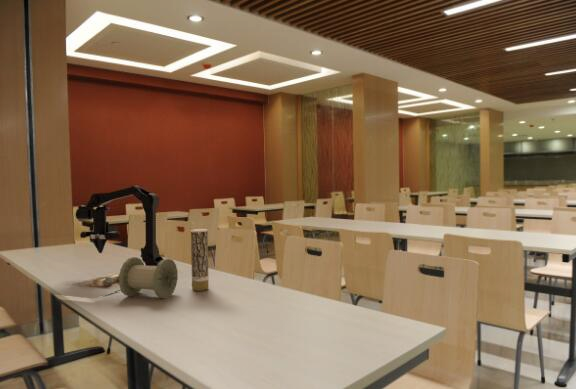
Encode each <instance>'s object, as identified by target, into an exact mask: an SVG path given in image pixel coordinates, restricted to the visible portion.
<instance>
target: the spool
mask: <svg viewBox="0 0 576 389" xmlns="http://www.w3.org/2000/svg"><path fill="white" fill-rule="evenodd" d="M163 259H164V260H161V261H160V263H159V264H158V265H157V266H146V265H145V263H144V261H143V260H142V258H139V257H137V256H136V257H135V256H134V257H129V258H127V259H126V260H125V261H124V262H123V264H122V266H121V268H120V270H119V273H120V274H119V273H118V275H119V285H118V286H119V288H120V291H121V293H123V295H124V296H128V297H133V296H136V295H138V294H139V293H140V292H141V291H142V290H152V291H154V293H155V295H156V296H157V298H159V299H165V300H166V299H168V298H170V297H172V295H173V294H174V291H175V290H176V287H177V283H178V279H179V278H178V268H177V264H176V262H175V261H174V260H173V259H170V258H163Z"/></svg>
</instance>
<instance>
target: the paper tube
mask: <svg viewBox="0 0 576 389" xmlns="http://www.w3.org/2000/svg"><path fill="white" fill-rule="evenodd" d="M208 237H209V235H208V229H206V228H195V229H191V230H190V247H191V248H190V250H191V251H190V254H191V255H190V256H191V288H192V290H193V291H195V292H203V291H206V290H208V289H209V287H210V286H209V245H208V244H209V242H208V241H209V239H208Z"/></svg>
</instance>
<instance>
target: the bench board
mask: <svg viewBox="0 0 576 389" xmlns="http://www.w3.org/2000/svg"><path fill="white" fill-rule="evenodd" d="M119 274H120V272H119V273H118V275H119ZM99 277H100V276H97V277H94V278H91V279H87V280H83V281H79V282H76V283H73V284H71V286H77V287H85V288H86V287H89V288H98V289H111V288H113V287H116V286H119V281H118V282H115V283H112V279H111V277H106V278H105V285H106V286H103V287H102V286H91V280H92V279H95V278H99Z"/></svg>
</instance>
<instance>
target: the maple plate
mask: <svg viewBox="0 0 576 389" xmlns="http://www.w3.org/2000/svg"><path fill="white" fill-rule="evenodd" d="M98 277H99V278H97V277H94V278H95V279H93V278H91V279H92V280H91V286H102V287H103V286H106V285H105V278H106V277H111V279H112V283H115V282H118V281H119V274H112V273H109V274H107V275H102V276H98Z"/></svg>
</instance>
